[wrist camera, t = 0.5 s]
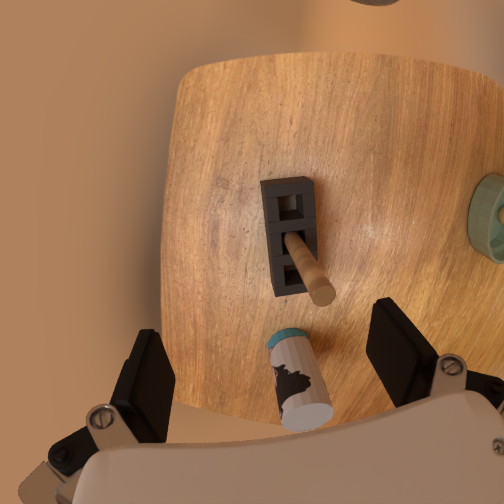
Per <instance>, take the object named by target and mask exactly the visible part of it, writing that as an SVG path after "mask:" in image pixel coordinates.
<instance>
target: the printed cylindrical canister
mask: <svg viewBox="0 0 504 504" xmlns="http://www.w3.org/2000/svg"><path fill="white" fill-rule="evenodd" d="M268 349H269V355H270V360H271V366H272V372H273V377H274V383H275V389H276V394H277V400H278V406H279V411H280V417H281V423H282V426H283V427H284V428H285V429H287V430H289V431H296V432H300V431H308V430H312V429H315V428H318V427H320V426H322V425H323V424H325V423H327V422H328V421H329V420H330V419H331V418H332V416H333V414H334V409H333V406H332V403H331V400H330V397H329V394H328V392H327V389H326V386H325V383H324V380H323V377H322V374H321V372H320V369H319V366H318V363H317V360H316V358H315V355H314V352H313V349H312V346H311V344H310V341H309V338H308V336H307V334H306V333H305V332H304V331H302V330H300V329H297V328H288V329H283V330H281V331H279V332H277V333H276V334H274V335H273V336H272V337H271V339H270V340H269V343H268Z"/></svg>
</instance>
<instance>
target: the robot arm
mask: <svg viewBox="0 0 504 504" xmlns="http://www.w3.org/2000/svg"><path fill="white" fill-rule="evenodd" d="M366 354H367V356H368V358H369V360H370V362H371V363H372V365H373V367H374V369H375V371H376V372H377V374H378V376H379V378H380V380H381V381H382V383H383V385H384V387H385V389H386V391H387V393H388V394H389V396H390V398H391V400H392V402H393V404H394V406H395V407H396V408H395V409H392V410H389V411H386V412H383V413H380V414H376V415H373V416H370V417H366V418H363V419H359V420H356V421H352V422H348V423H344V424H340V425H336V426H332V427H328V428H323V429H319V430H314V431H309V432H303V433H298V434H292V435H286V436H279V437H273V438H265V439H256V440H246V441H234V442H219V443H176V444H175V443H165V442H166V439H167V432H168V425H169V418H170V412H171V406H172V399H173V393H174V387H175V374H174V372H173V369H172V367H171V364H170V362H169V359H168V356H167V354H166V351H165V349H164V346H163V343H162V340H161V338H160V335H159V333H158V332H155V331H154V329H142V330H140V331H139V334H138V336H137V338H136V341H135V344H134V346H133V349H132V352H131V354H130V356H129V359H127V360H126V361H125V363H124V365H123V367H122V370H121V373H120V376H119V378H118V381H117V383H116V386H115V389H114V392H113V395H112V397H111V400H110V403H109V404H100V405H97V406H95V407H93V408H92V409H91V410H90V411H89V412H88V414H87V416H86V424H87V426H85V427H83V428H81V429H80V430H78V431H76V432H74V433H73V434H71V435H69V436H67V437H66V438H64V439H62V440H60V441H58V442H57V443H55V444H54V445H53V446H52V447H51V448H50V450H49V453H48V459H49V460H48V461H47V462H45V461H43V462H42V463H41V464H40V465H39V466H38V467H37V468H36V469H35V470H34V471H33V472H32V473H31V474H30V475H29V476H28V477H27V478H26V479H25V480H24V481H23V482H22V483H21V484H20V486H19V489H18V494H19V497H20V499H21V501H22V502H23V503H24V504H504V381H503V380H502V379H500V378H498V377H494V376H490V375H486V374H482V373H478V372H473V371H469V370H467V365H466V363H465V361H464V360H463V359H462V358H461V357H460V356H458V355H455V354H444V355H442V356H440V357H439V356H438V354H437V352H436V351H435V350H434V348H433V347H432V346H431V345H430V343H429V342H428V341H427V340H426V339H425V337H424V336H423V335H422V334H421V333H420V331H419V330H418V329H417V328H416V327H415V325H414V324H413V323H412V322H411V321H410V319H409V318H408V317H407V316H406V315H405V314H404V313H403V311H402V310H401V309H400V308H399V307H398V306H397V305H396V303H395V302H394V301H393V300H392V299H391V298H390V297H386V298H382V299H378V300H377V301H376V303H374V304H373V309H372V316H371V322H370V328H369V334H368V340H367V345H366Z"/></svg>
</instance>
